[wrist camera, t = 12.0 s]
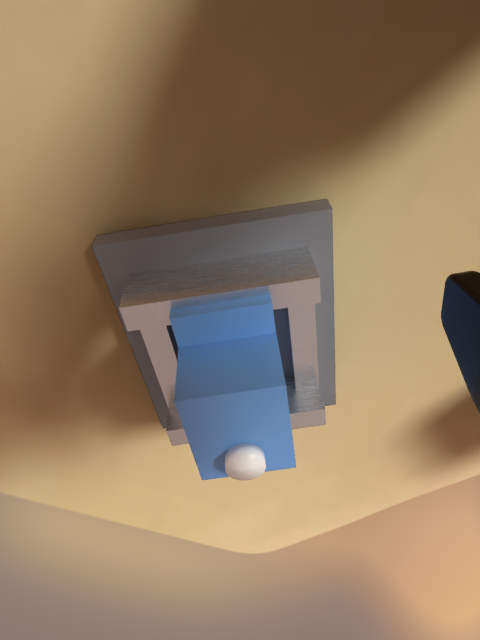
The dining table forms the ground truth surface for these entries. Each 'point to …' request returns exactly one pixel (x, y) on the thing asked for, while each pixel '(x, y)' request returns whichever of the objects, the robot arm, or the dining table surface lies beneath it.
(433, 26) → the dining table surface
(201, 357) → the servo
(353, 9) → the dining table surface
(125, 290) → the grey shallow tray
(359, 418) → the dining table surface
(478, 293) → the robot arm
